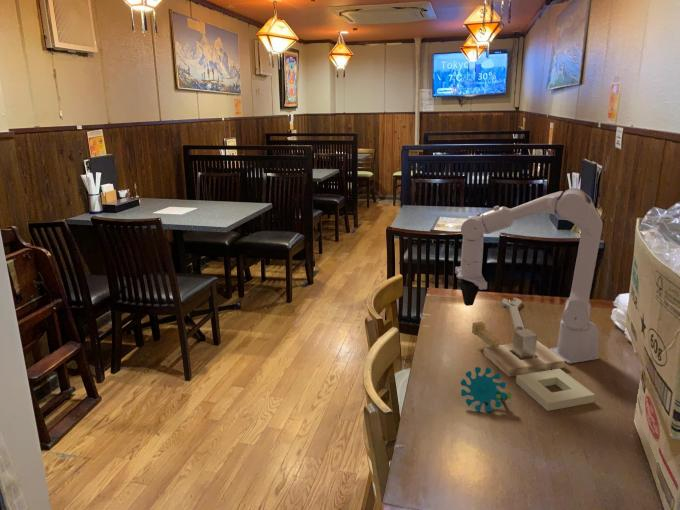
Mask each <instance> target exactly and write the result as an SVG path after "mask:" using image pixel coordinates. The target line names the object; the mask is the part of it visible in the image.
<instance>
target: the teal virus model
mask: <svg viewBox="0 0 680 510" xmlns="http://www.w3.org/2000/svg"><path fill="white" fill-rule="evenodd" d="M481 370H482V367H479V366H477V367H474V372H475V378H472V371H470V370H469V371H467V372H465V377H466V378H468V380H470V384H468V383H467V380H466V379H464V378H463V379H462V380H461V381H460V385H461V386H463V387H466V388H467V389H468V390H469V392H468V391H467V390H465V389H461V390H460V393H461V394H460V395H461V397H466V396H471V397H473V399H470V398H466V400H465V403H466V405H467V406H471V405H472V404H473V403H475V402H479V404H476V405H475V406H474V410H476V411H477V412H481V410H482V406H483V404H484V403H487V404H488V405H487V406H486V407H485V412H488V413H492V412H493V408H492V405H491V402H492V400H494V401H495V404H494V405H495V406H494V407H496V408H500V407H501V406H502V402H506V401H507V400H508V399H512V396H513V395H512V394H513V393H512V392H504V391H500V390H499V389H498V388H497V387H500V388H501V389H506V386H507V384H506V382H505V381H502V382H495V381H494V380H500V379H501V374H500V373H499V372H496V373H494V375H492V376H489V377H488V376H487V375H488V374H491V373H492V369H491V368H490V367H488V366H487V367H486V368H485V369H484V370H485V371H484V373H483V374H482V375H480V372H481Z"/></svg>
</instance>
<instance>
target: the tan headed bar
mask: <svg viewBox="0 0 680 510" xmlns="http://www.w3.org/2000/svg"><path fill="white" fill-rule="evenodd" d="M471 328H472V329H471V333H472V334H473V335H474V336H477V337H478V338H480V339H481V340H482V341H483V342H484V343H485V344H487V345H488V347H492V348H495V347H499V345H500V339H499V338H497V337H496V336H495V335H494V334H493V333H491V332H490V331H489V330H487V329H486V323H485V322H484V321H477V322H472V327H471Z"/></svg>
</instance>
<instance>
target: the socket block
mask: <svg viewBox="0 0 680 510" xmlns="http://www.w3.org/2000/svg"><path fill="white" fill-rule="evenodd" d="M512 350H513V342H512V343H507V344H506V343H505V344H499V347H495V348H492V347H490V346H486V347H483V355H484V356H485V357H486V358H487V359H488V360H489V361H490V362H492V363H493V364H494V365H495V366H496V367H497V368H498V369H500V370H501V371H502V372H503V373H504V374H505V375H506V376H507V377H516V376H517V375H523V374H529V373H535V372H541V371H547V370H551V369H552V370H553V369H559V368H560V369H563V368H565V365H566V362H565V360H564V359H562V358H561V357H560V356H558V355H557V354H555V353H554V352H553V351H551V350H550V348H548V347H547V346H546V345H545V344H542V343H541V342H540V341H538V340H537V343H536V351H535V358H531V359H524V360H520V359H519V358H517V357H516V356H515V355H514V354H512Z"/></svg>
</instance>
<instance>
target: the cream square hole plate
mask: <svg viewBox="0 0 680 510" xmlns="http://www.w3.org/2000/svg"><path fill="white" fill-rule="evenodd" d="M515 384H517V386H519V387H520V388H521V389H522V390H523V391H524V392H525V393H526V394H528V395H529V396H530V397H531V398H532V399H533V400H534V401H535V402H536V403H538V404H539V405H540V406H542V408H543V409H544V410H546V411H547V412H548V411H549V412H550V411H554V410H559V409H565V408H571V407H576V406H581V405H587V404H588V405H589V404H593V403H595V398H596V397H595V396H596V395H595V393H593V392H592V391H591V390H589V389H588V388H587V387H586V386H584V385H583V384H582V383H580V382H579V381H577V380H576V379H575V378H573V377H572V376H571V375H569V374H568V373H567V372H565V371H564V370H562V368H558V369H552V370H546V371H540V372H534V373H528V374H522V375H515ZM555 385H556V386H557V387H558V388H560V391H554V392H552V391H551V390H550V389H548V388H547V387H549V386H555Z"/></svg>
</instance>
